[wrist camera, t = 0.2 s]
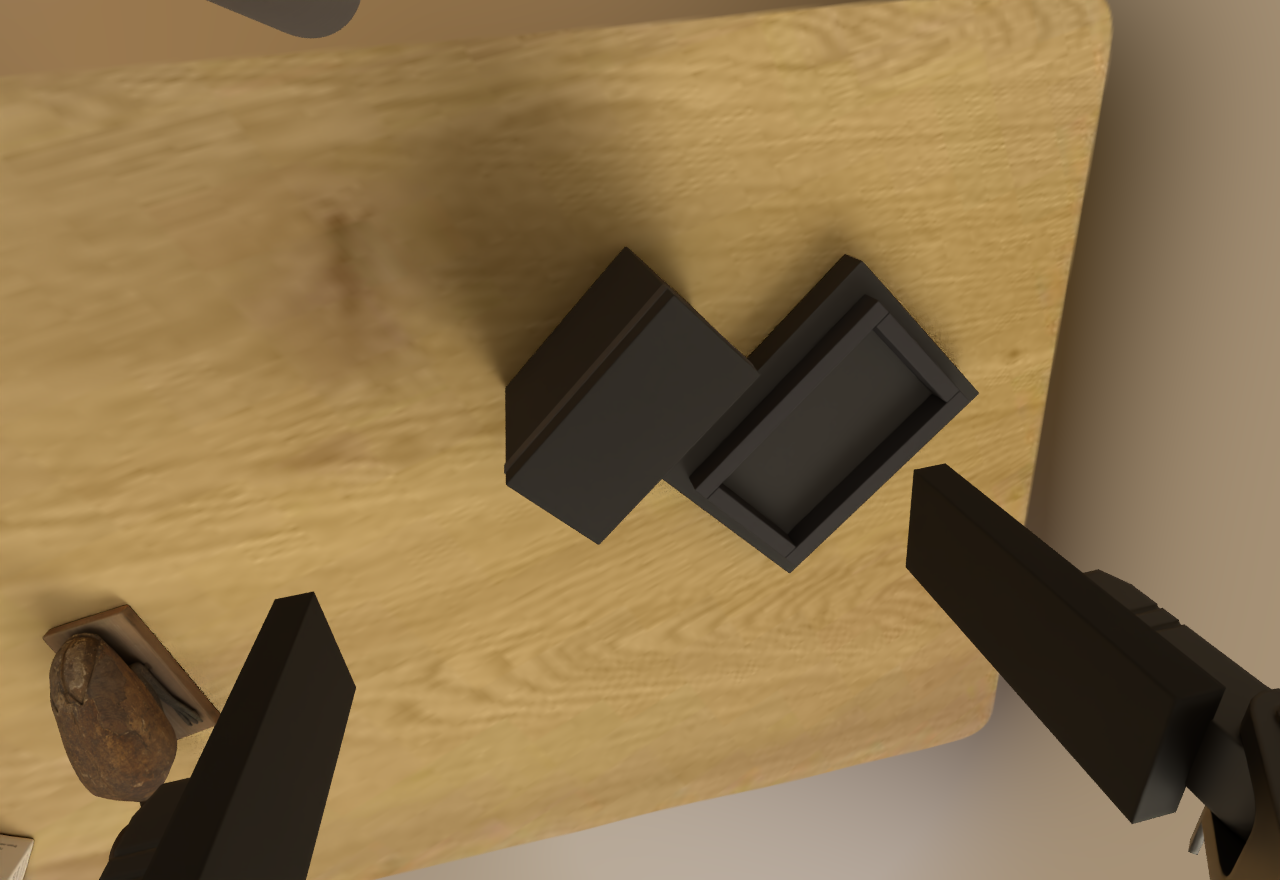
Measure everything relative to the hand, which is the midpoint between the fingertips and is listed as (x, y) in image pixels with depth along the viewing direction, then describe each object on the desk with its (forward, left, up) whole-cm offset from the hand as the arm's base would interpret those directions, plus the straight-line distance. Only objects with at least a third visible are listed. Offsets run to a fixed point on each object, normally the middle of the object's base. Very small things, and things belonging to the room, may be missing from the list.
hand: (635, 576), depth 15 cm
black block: (+2, +2, -23) cm, 23 cm away
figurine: (+19, -28, -23) cm, 41 cm away
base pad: (+9, +14, -23) cm, 28 cm away
